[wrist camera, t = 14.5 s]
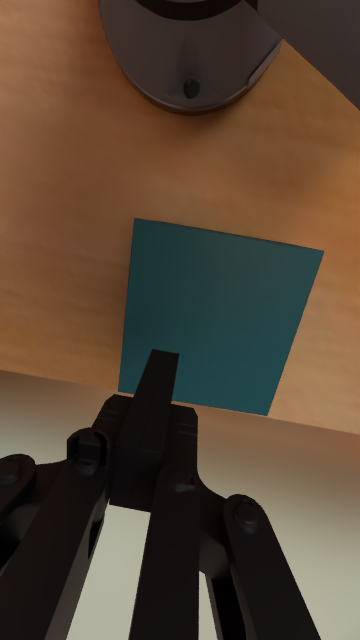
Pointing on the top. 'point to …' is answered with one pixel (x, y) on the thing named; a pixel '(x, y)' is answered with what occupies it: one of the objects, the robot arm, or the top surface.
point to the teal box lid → (214, 312)
